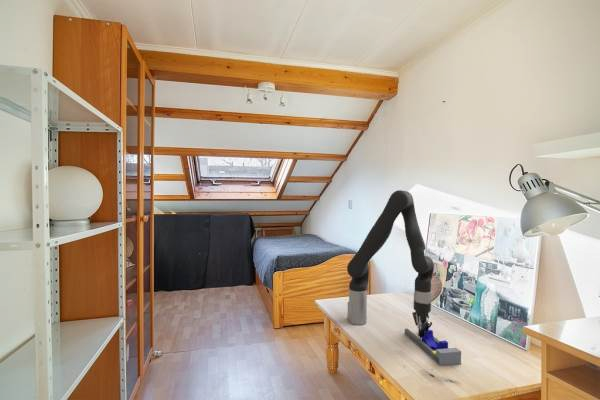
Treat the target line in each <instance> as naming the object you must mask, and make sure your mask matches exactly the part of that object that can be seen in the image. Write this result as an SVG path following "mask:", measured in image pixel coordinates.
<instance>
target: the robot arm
mask: <svg viewBox="0 0 600 400" xmlns="http://www.w3.org/2000/svg"><path fill="white" fill-rule="evenodd" d="M415 207H416V206H415V202H414V198H413V195H412V193H410V192H409V191H408V190H407V191H406V190H402V189H401V190H400V189H398V190H395V191H393V192H392V193H391V195H390V197H389V198H388V201H387V202H386V205H385V206H384V207H383V210H382V211H381V214H380V215H379V216H378V218H377V220H376V221H375V223H374V224H373V226H372V227H371V228H370V230H369V232H368V234H367V235H366V236H365V239H364V240H363V241H362V243H361V245H360V247H359V248H358V249H359V250H358V251H357V252H356V254H355V255H354V256H353V257H352V258H351V260H350V261H349V262H348V264H347V267H346V269H347V271H346V272H347V275H349V276H350V277H351V280H350V281H349V284H348V302H347V313H346V314H347V317H346V318H347V319H346V320H347V321H348V322H349V323H350V325H355V326H363V325H365V324H367V312H368V311H367V306H368V303H367V300H368V298H367V297H368V285H369V280H370V279H369V277H370V266H369V262H370V260H371V259H372V258H373V257H374V256H375V255H376V254H377V253H378V252H379V251H380V249H382V247H383V246H384V245H385V244H386V243H387V240H388V239H389V237H390V235H391V233H392V231H393V230H392V229H393V227H394V224H395V221H396V220H397V218H398V217H399V215H400V214H401V215H402V217H403V222H404V224H403V225H404V231H405V238H406V241H407V242H406V243H407V244H408V247H409V250H410V260H411V265H412V268H413V270H414V271H415V272H416V273H417V276H416V278H415V279H414V292H413V309H414V312H412V313H411V314H412V316H413V320H414V323H415V325H416V326H417V329H418V334H417V335H418V336H417V337H418V338H419V339H422V337H424V336H425V330H430V328H431V327H432V326H433V322H432V321H430V319H429V318H430V316H429V314H430V312H432V279H433V274H434V268H435V266H434V265H435V264H434V261H433V259H432V258H431V257H430V256H427V255H425V250H426V244H425V240H424V238H423V235H422V232H421V229H420V226H419V222H418V217H417V214H416V210H415V209H416V208H415Z"/></svg>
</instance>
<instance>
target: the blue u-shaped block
mask: <svg viewBox="0 0 600 400" xmlns="http://www.w3.org/2000/svg"><path fill="white" fill-rule="evenodd" d="M434 337H435V336H434V330H432V329H428V330H425V337H422V338H421V340H422V341H423V342H424V343H425V344H427V345H428V346H429V347H430V348H431V349H433V350H434V351H436V349H447V348H449V342H448V341H447V340H439V345H437V343H436V342H435V339H434Z"/></svg>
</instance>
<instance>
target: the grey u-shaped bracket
mask: <svg viewBox="0 0 600 400" xmlns="http://www.w3.org/2000/svg"><path fill="white" fill-rule="evenodd" d="M404 335H405V336H407V338H409V339H410V340H411V341H412V342H413V343H414V344H416V346H417V347H419V348H420V349H421V350H422V352H424V353H425V354H426V355H428V356H429V357H430V358H431V359H432V360H434V362H436V364H438V365H439V366H440V367H442V366H451V365H461V364H462V350H460V349H458V348H457V347H448V348H447V349H436V351H434V350H433V349H431V348H430V347H429V346H428V345H427V344H425V343H424V342H423V341H422V338H420V337H419V336H417V335H416V334H415V333H414V332H412V331H411V330H410V329H409V328H404ZM424 337H425V336H424ZM434 339H435V342H436V343H437V345H439V341H440V340H438V338H436V337H435V336H434Z"/></svg>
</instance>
